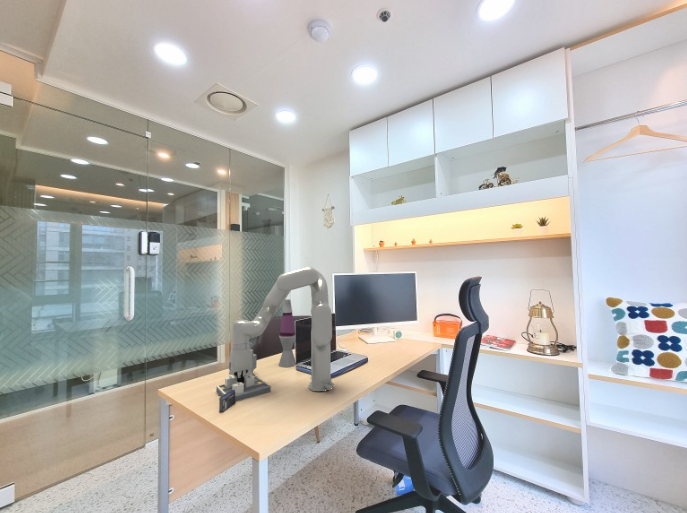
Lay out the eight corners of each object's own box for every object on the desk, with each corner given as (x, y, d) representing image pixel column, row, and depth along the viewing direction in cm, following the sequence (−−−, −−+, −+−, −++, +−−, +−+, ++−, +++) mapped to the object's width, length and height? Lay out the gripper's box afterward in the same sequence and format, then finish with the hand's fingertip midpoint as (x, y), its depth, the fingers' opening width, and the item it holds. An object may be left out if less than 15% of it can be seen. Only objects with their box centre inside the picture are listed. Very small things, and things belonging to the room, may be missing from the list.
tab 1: (235, 385, 139) (235, 376, 139) (226, 387, 137) (227, 378, 137) (233, 383, 142) (233, 374, 142) (224, 386, 139) (225, 376, 139)
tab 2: (243, 393, 131) (243, 382, 131) (234, 395, 128) (234, 385, 128) (241, 390, 133) (241, 380, 133) (232, 393, 130) (232, 383, 131)
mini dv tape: (222, 412, 117) (222, 397, 118) (219, 412, 118) (219, 397, 118) (235, 403, 125) (235, 389, 125) (232, 403, 126) (232, 389, 126)
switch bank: (270, 391, 137) (270, 385, 138) (227, 404, 125) (227, 397, 125) (256, 381, 151) (256, 375, 151) (216, 391, 138) (216, 385, 138)
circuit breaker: (257, 373, 162) (257, 346, 163) (246, 383, 148) (246, 353, 149) (244, 373, 163) (245, 346, 164) (232, 382, 149) (233, 353, 150)
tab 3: (254, 385, 140) (254, 375, 140) (246, 387, 137) (246, 377, 137) (251, 383, 142) (251, 373, 142) (243, 385, 139) (243, 375, 140)
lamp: (281, 361, 183) (281, 298, 185) (298, 361, 182) (298, 298, 184) (276, 367, 172) (276, 300, 174) (293, 367, 171) (293, 300, 173)
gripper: (252, 342, 145) (252, 378, 145) (222, 347, 136) (221, 386, 135) (258, 344, 140) (258, 383, 139) (227, 350, 130) (227, 391, 129)
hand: (240, 384), depth 137 cm, fingers closed
